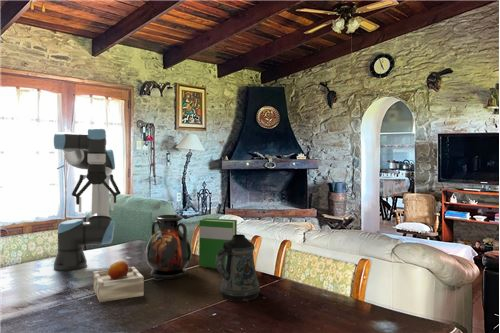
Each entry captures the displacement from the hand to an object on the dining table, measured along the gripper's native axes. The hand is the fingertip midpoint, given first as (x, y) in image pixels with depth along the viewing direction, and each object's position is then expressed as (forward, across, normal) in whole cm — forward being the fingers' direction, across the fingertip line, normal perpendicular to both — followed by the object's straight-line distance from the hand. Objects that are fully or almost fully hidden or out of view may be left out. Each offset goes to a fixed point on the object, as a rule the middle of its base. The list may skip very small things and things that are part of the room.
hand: (96, 211), depth 181 cm
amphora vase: (+32, +32, -4) cm, 45 cm away
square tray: (+32, +6, -18) cm, 37 cm away
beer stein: (+32, +49, -44) cm, 73 cm away
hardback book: (+32, +59, -1) cm, 67 cm away
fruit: (+26, +6, -18) cm, 32 cm away
